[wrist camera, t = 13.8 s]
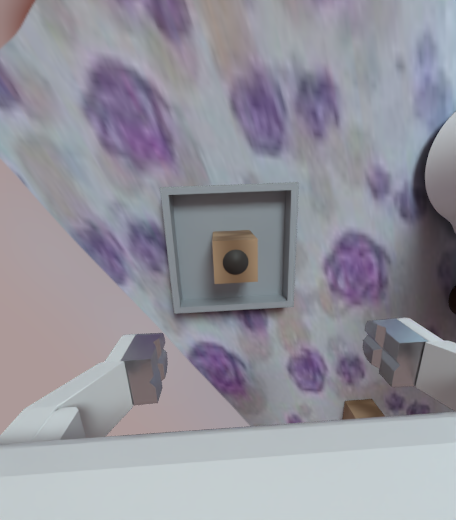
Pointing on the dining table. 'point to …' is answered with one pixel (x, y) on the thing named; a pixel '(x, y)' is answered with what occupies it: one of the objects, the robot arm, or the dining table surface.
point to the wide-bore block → (235, 256)
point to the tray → (230, 219)
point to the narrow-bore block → (361, 409)
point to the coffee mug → (453, 300)
